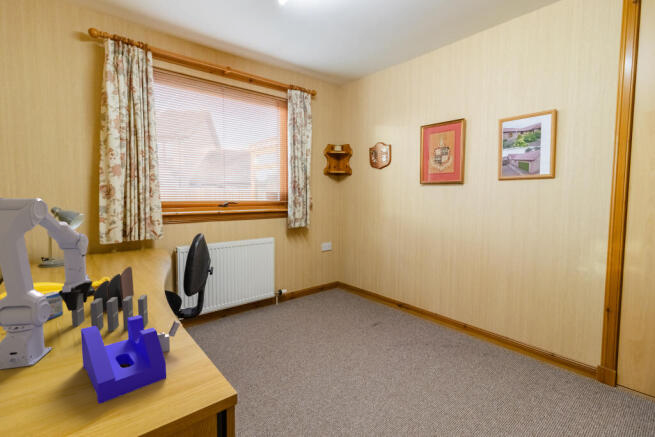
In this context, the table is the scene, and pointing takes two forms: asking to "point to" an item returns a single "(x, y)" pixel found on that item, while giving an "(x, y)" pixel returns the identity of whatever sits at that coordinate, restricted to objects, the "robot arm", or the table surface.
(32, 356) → the robot arm
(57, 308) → the medicine box
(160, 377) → the bracket
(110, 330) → the domino
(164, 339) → the lighter
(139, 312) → the end domino
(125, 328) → the domino
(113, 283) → the letter holder
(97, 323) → the domino
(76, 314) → the domino
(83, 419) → the table surface
